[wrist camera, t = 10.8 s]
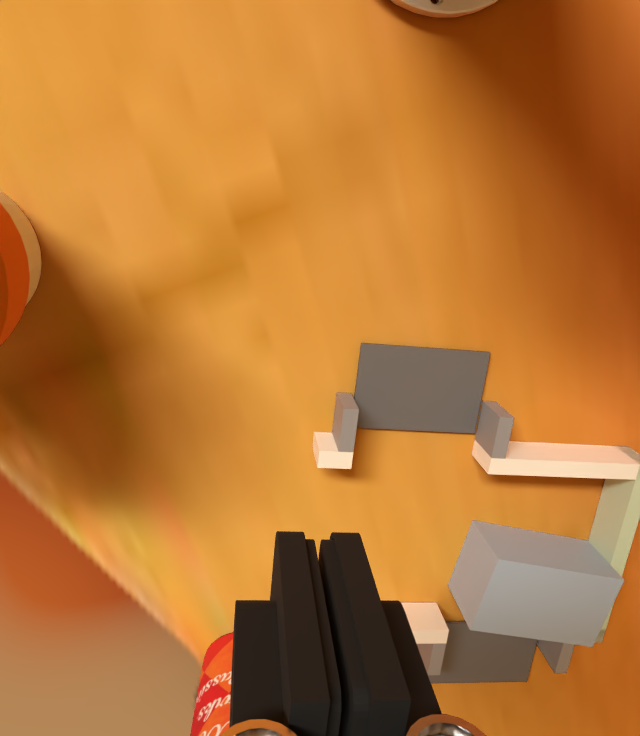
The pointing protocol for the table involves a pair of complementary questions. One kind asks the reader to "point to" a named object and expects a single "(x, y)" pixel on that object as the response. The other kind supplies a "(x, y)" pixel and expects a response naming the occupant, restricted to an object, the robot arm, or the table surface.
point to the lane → (497, 456)
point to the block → (533, 584)
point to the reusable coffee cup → (16, 264)
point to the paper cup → (214, 690)
